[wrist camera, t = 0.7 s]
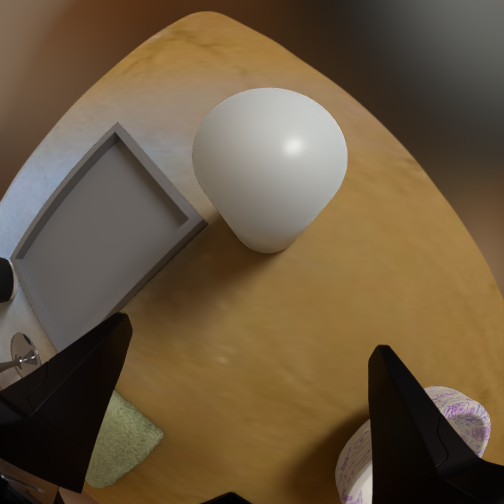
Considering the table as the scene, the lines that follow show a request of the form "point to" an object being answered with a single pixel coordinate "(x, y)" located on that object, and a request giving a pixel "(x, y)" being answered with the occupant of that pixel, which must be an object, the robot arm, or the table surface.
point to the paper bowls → (360, 450)
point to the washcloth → (120, 442)
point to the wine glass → (22, 356)
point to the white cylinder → (269, 164)
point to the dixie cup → (7, 280)
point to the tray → (101, 238)
